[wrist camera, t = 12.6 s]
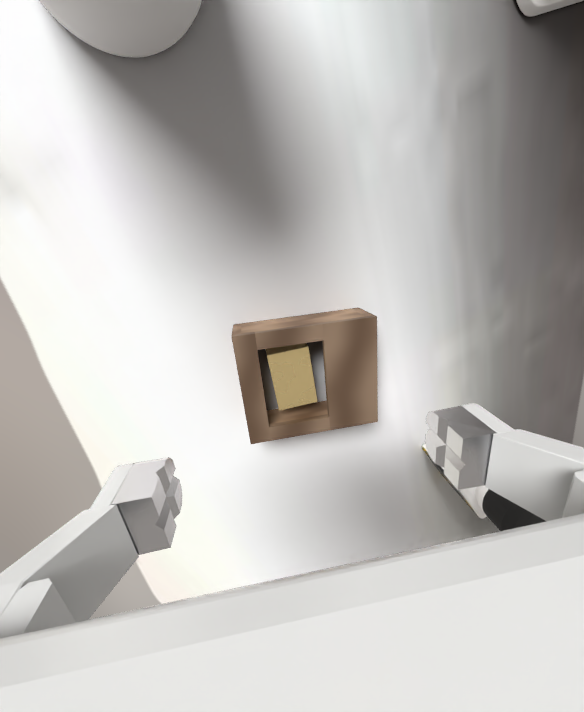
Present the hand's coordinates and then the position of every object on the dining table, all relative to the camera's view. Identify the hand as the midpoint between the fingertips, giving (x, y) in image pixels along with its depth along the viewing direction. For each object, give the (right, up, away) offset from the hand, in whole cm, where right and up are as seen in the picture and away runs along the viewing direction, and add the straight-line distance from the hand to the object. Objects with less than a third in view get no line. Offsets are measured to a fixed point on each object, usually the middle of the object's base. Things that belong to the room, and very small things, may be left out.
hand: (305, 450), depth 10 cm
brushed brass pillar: (-1, +2, +23) cm, 23 cm away
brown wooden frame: (+1, +2, +23) cm, 23 cm away
